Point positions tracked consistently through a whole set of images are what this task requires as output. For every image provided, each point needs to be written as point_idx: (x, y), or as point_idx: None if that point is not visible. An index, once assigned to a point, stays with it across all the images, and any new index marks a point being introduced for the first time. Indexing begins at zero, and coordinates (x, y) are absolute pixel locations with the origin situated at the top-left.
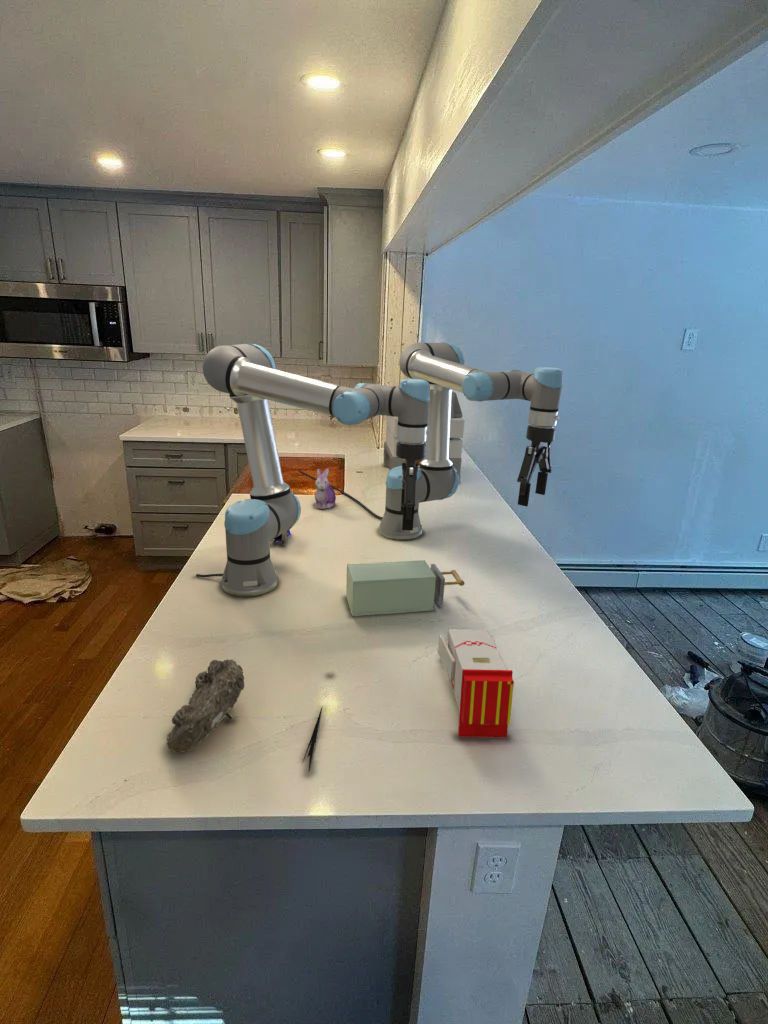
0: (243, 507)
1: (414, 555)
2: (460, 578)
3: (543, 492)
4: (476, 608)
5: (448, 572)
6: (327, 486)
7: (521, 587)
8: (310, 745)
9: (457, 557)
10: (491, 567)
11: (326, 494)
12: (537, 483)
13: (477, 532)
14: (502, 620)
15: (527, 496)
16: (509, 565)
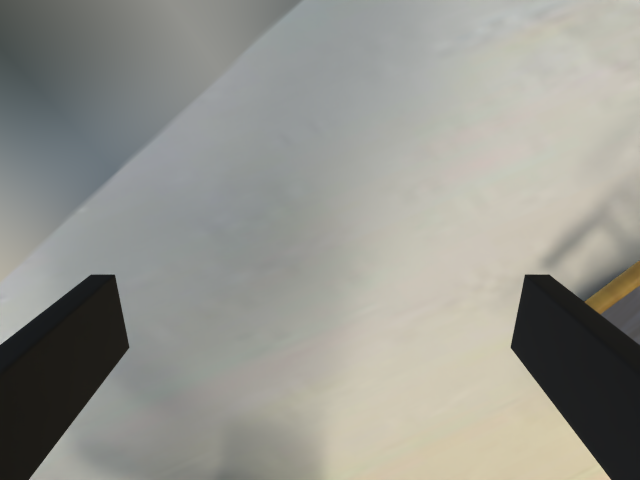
0: None
1: (374, 446)
2: (637, 282)
3: (103, 293)
4: (587, 197)
5: None
6: None
7: (383, 144)
8: None
9: (310, 368)
10: (307, 271)
11: None
12: (73, 409)
13: (101, 401)
14: (625, 106)
15: (611, 332)
16: (255, 236)
